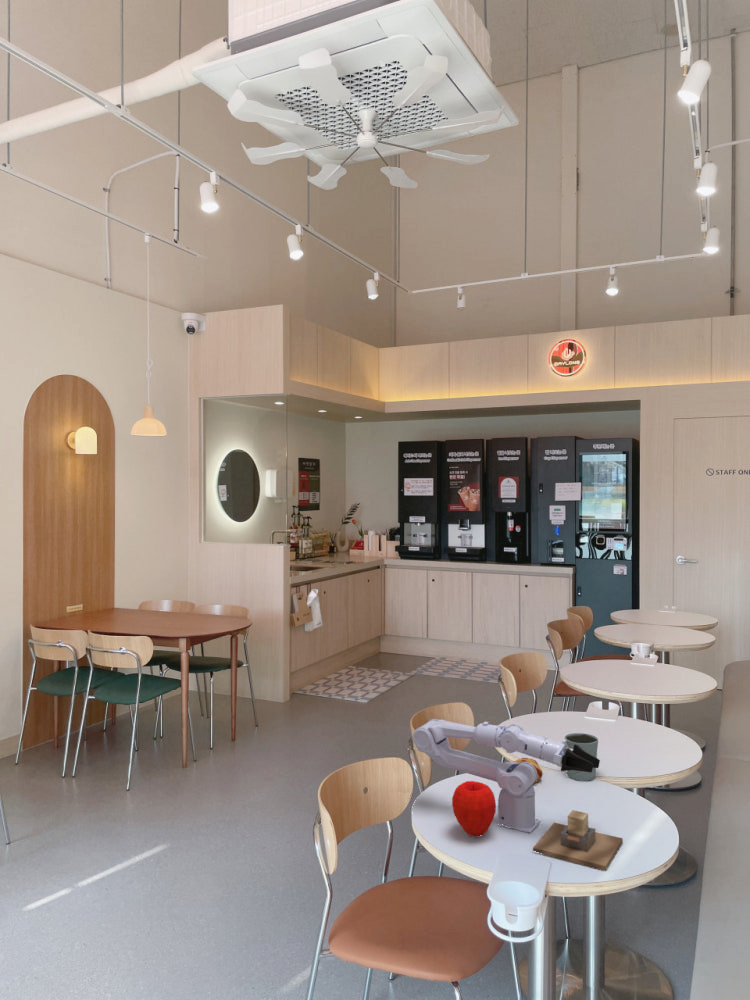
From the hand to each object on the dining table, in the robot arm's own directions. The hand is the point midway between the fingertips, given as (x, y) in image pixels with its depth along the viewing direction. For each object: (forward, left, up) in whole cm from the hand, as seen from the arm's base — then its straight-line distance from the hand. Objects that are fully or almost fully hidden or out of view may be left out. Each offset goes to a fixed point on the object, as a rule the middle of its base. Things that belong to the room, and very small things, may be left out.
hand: (595, 766), depth 193 cm
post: (-3, -6, -18) cm, 19 cm away
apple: (-29, -12, -20) cm, 37 cm away
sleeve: (-3, -6, -18) cm, 19 cm away
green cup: (-16, +40, -20) cm, 48 cm away
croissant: (-30, +29, -20) cm, 47 cm away
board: (-3, -6, -19) cm, 21 cm away
